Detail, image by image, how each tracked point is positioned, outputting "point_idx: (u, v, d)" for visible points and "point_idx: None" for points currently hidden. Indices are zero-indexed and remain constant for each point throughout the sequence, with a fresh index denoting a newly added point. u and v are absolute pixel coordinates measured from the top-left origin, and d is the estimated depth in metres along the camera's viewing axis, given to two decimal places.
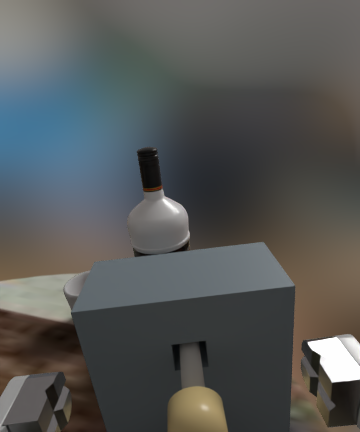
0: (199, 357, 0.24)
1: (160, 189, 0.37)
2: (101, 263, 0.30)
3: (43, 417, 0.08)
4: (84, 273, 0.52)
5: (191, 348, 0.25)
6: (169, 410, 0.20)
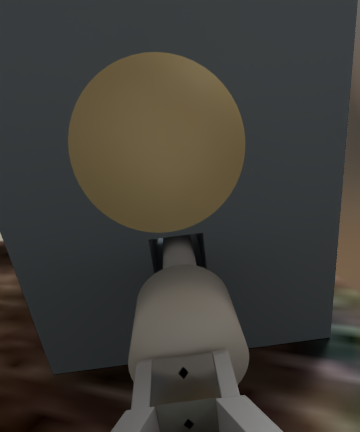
0: None
1: None
2: None
3: None
4: None
5: None
6: None
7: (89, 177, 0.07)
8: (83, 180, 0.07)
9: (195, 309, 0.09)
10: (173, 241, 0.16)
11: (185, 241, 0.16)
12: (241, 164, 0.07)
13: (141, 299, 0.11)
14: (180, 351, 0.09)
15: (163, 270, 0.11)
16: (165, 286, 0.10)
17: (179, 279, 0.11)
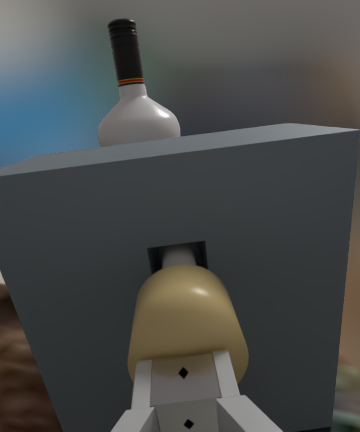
0: (191, 252, 0.16)
1: (141, 83, 0.27)
2: (47, 154, 0.20)
3: None
4: None
5: None
6: (137, 303, 0.11)
7: None
8: None
9: None
10: None
11: None
12: (245, 364, 0.10)
13: None
14: None
15: None
16: None
17: None
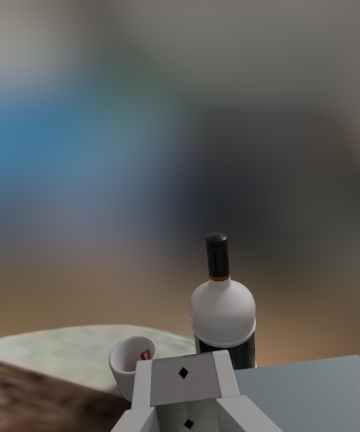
0: None
1: (228, 277, 0.34)
2: None
3: None
4: (127, 340, 0.50)
5: None
6: None
7: None
8: None
9: None
10: None
11: None
12: None
13: None
14: None
15: None
16: None
17: None
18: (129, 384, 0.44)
